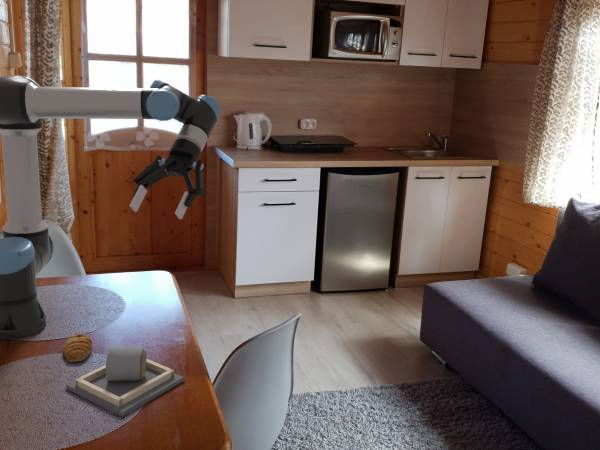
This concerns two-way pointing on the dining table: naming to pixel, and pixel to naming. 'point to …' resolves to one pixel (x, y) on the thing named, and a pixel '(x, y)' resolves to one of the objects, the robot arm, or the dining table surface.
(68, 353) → the pastry
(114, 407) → the tray
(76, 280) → the dining table surface
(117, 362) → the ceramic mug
